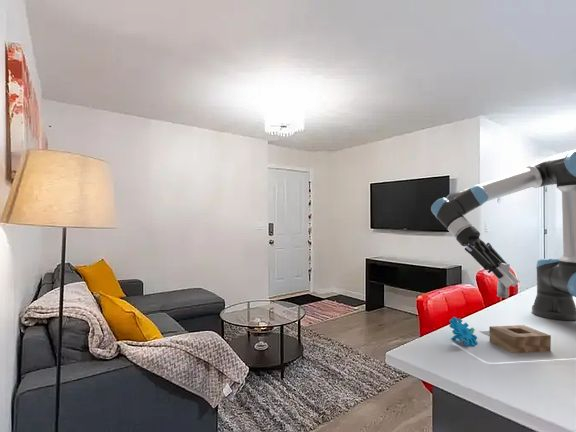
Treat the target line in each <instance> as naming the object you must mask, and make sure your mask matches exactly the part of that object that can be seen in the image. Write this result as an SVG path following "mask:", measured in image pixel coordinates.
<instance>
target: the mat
mask: <svg viewBox="0 0 576 432" xmlns="http://www.w3.org/2000/svg"><path fill="white" fill-rule="evenodd" d="M479 333H481V334H484V335H485V336H488V338H490V330H483V331H482V330H481V331H479Z"/></svg>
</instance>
